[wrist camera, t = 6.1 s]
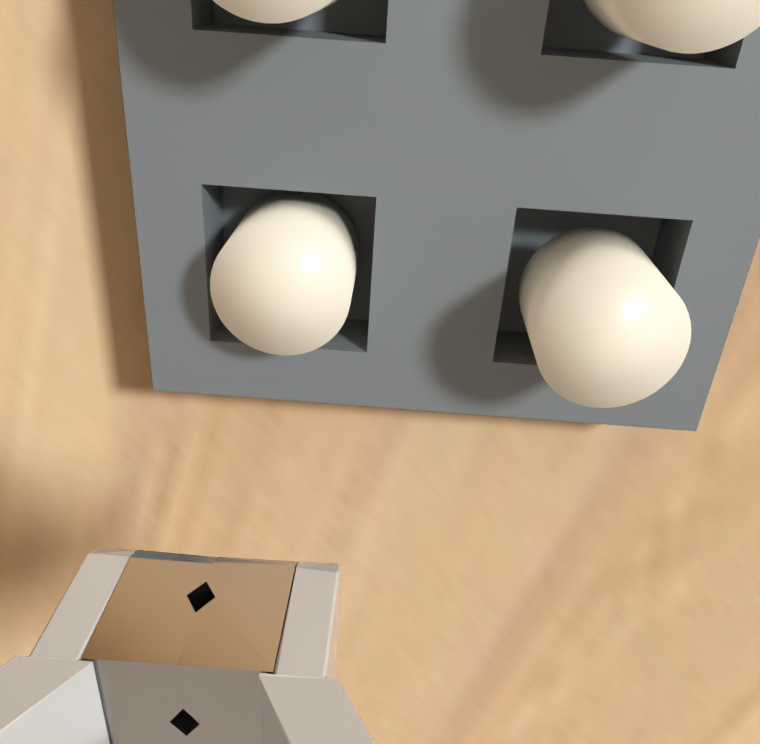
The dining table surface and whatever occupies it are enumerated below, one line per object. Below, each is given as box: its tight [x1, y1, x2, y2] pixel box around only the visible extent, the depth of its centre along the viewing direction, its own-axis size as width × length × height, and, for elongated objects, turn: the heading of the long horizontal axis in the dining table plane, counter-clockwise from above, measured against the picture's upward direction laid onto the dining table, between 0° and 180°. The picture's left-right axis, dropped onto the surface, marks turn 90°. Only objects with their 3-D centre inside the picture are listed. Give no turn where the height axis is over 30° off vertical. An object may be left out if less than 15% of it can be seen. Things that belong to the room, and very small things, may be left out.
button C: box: [518, 227, 691, 408], centre depth 21 cm, size 4×4×4 cm
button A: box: [210, 190, 359, 355], centre depth 22 cm, size 4×4×4 cm
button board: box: [113, 0, 760, 431], centre depth 21 cm, size 18×18×3 cm
